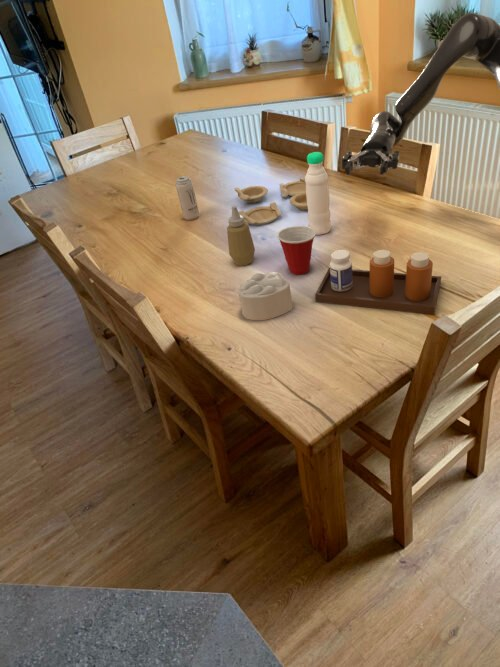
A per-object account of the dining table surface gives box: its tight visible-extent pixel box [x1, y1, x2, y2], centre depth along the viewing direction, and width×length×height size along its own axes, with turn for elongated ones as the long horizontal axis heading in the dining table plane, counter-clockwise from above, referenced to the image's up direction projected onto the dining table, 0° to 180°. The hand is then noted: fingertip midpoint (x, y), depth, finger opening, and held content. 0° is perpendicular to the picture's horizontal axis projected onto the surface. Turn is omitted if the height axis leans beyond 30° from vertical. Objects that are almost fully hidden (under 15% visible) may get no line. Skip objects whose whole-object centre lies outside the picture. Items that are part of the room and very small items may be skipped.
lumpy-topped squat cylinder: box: [238, 271, 293, 321], centre depth 129 cm, size 10×13×9 cm
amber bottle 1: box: [369, 249, 395, 297], centre depth 126 cm, size 6×6×11 cm
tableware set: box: [234, 177, 308, 226], centre depth 182 cm, size 35×29×4 cm
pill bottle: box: [329, 249, 353, 292], centre depth 130 cm, size 6×6×10 cm
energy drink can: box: [175, 175, 200, 221], centre depth 180 cm, size 6×6×15 cm
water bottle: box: [304, 151, 332, 236], centre depth 154 cm, size 7×7×25 cm
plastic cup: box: [276, 225, 317, 276], centre depth 141 cm, size 11×11×12 cm
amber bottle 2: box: [405, 251, 434, 301], centre depth 122 cm, size 6×6×11 cm
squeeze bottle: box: [226, 205, 256, 266], centre depth 148 cm, size 8×8×18 cm
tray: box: [314, 267, 442, 316], centre depth 129 cm, size 30×14×2 cm, turn 67°
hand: (364, 170), depth 125 cm, fingers open, 8 cm apart
